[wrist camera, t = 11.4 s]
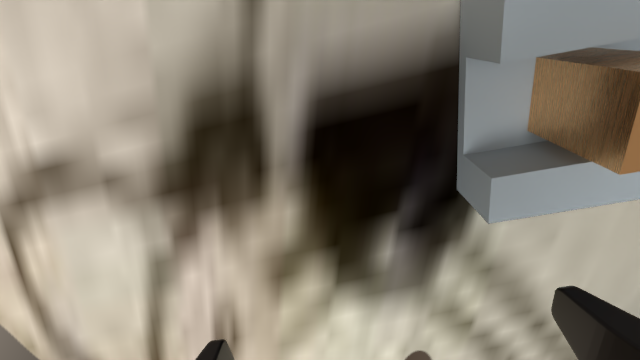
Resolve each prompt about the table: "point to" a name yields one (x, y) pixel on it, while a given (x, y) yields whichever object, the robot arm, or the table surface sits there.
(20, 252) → the table surface
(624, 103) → the brown wooden block
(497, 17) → the bracket
